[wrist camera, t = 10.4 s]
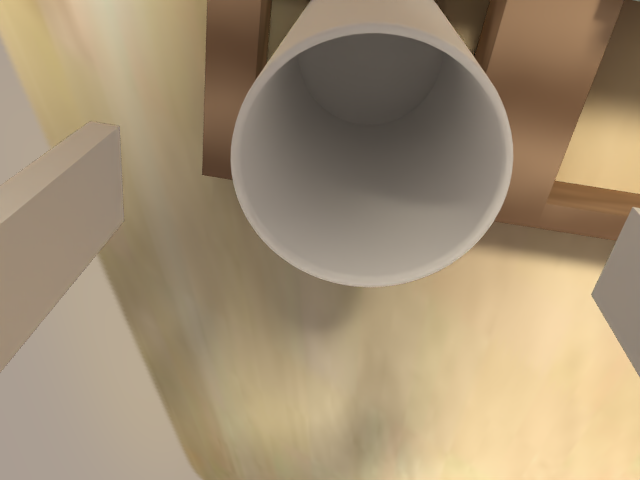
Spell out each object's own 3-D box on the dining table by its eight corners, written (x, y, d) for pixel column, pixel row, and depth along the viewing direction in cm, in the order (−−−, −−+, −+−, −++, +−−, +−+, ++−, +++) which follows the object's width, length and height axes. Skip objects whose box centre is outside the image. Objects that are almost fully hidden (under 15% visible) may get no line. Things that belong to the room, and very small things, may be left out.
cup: (480, 50, 29) (576, 171, 16) (369, 154, 33) (368, 329, 19) (370, -71, 27) (368, -53, 13) (263, 56, 30) (174, 174, 17)
